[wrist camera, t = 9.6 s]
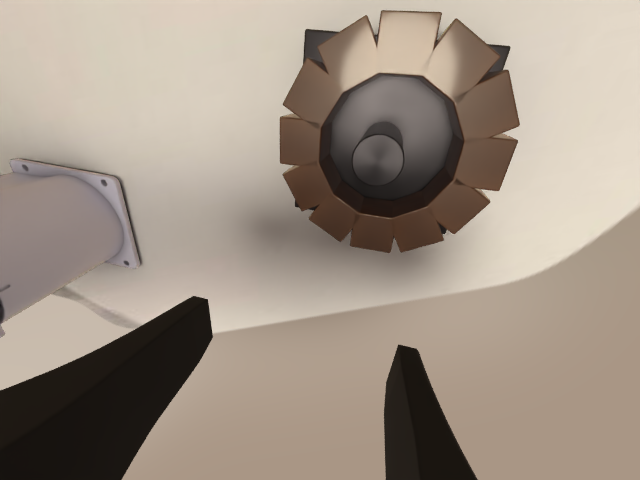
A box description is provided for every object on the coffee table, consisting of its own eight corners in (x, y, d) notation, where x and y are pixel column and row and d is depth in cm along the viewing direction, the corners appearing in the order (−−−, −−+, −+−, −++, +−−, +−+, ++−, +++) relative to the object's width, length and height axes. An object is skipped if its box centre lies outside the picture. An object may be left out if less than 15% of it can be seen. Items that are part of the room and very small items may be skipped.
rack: (299, 201, 19) (266, 240, 14) (310, 32, 14) (267, 4, 10) (443, 227, 17) (460, 280, 13) (504, 48, 13) (566, 26, 8)
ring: (293, 217, 18) (279, 234, 16) (297, 19, 13) (278, 7, 11) (460, 243, 16) (470, 267, 14) (535, 29, 12) (567, 15, 9)
